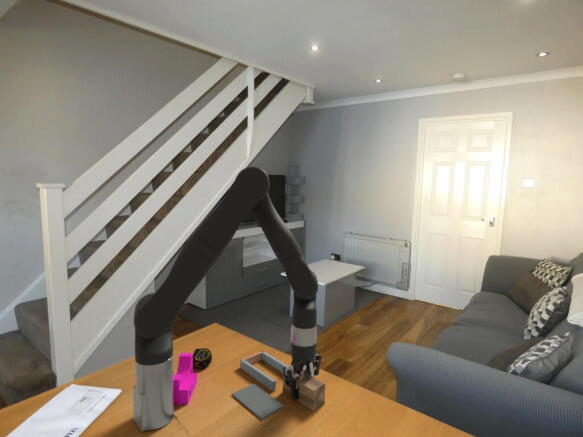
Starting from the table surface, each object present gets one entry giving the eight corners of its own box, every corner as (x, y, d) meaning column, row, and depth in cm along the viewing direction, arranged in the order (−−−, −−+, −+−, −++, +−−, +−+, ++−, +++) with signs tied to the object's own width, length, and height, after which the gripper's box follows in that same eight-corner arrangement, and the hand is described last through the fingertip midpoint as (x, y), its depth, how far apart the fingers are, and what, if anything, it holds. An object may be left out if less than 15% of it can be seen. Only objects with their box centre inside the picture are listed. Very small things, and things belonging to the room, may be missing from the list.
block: (313, 411, 94) (313, 390, 94) (282, 391, 103) (283, 372, 102) (324, 403, 98) (325, 383, 97) (294, 385, 106) (295, 366, 106)
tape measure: (195, 354, 120) (195, 346, 119) (214, 356, 120) (214, 348, 118) (188, 369, 114) (187, 360, 113) (208, 371, 113) (207, 362, 112)
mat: (261, 420, 90) (261, 418, 90) (231, 395, 100) (231, 393, 100) (284, 406, 96) (284, 405, 96) (253, 384, 106) (253, 383, 106)
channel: (272, 391, 103) (273, 382, 102) (240, 368, 115) (240, 359, 115) (295, 379, 109) (296, 370, 109) (262, 358, 121) (262, 350, 121)
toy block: (188, 405, 96) (187, 380, 95) (165, 405, 96) (165, 379, 95) (200, 375, 111) (200, 353, 110) (181, 375, 111) (180, 352, 110)
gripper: (311, 328, 106) (309, 379, 108) (276, 342, 96) (275, 398, 98) (330, 336, 101) (327, 390, 103) (294, 352, 91) (293, 411, 93)
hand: (302, 394), depth 100 cm, fingers closed on block, 5 cm apart
